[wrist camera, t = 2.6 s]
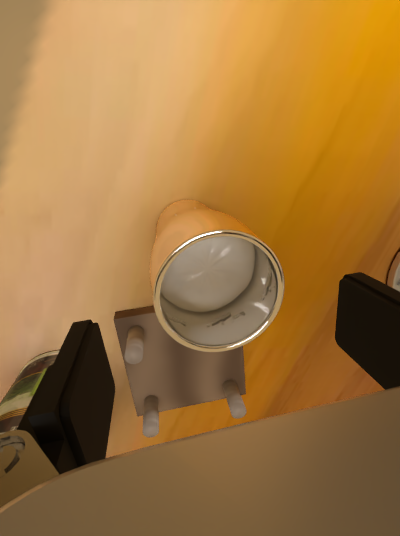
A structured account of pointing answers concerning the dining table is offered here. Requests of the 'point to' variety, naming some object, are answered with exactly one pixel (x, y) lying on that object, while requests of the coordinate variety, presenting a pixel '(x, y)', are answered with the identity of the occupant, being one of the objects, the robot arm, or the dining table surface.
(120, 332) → the peg stand
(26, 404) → the coffee can
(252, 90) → the dining table surface
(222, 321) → the beer glass
